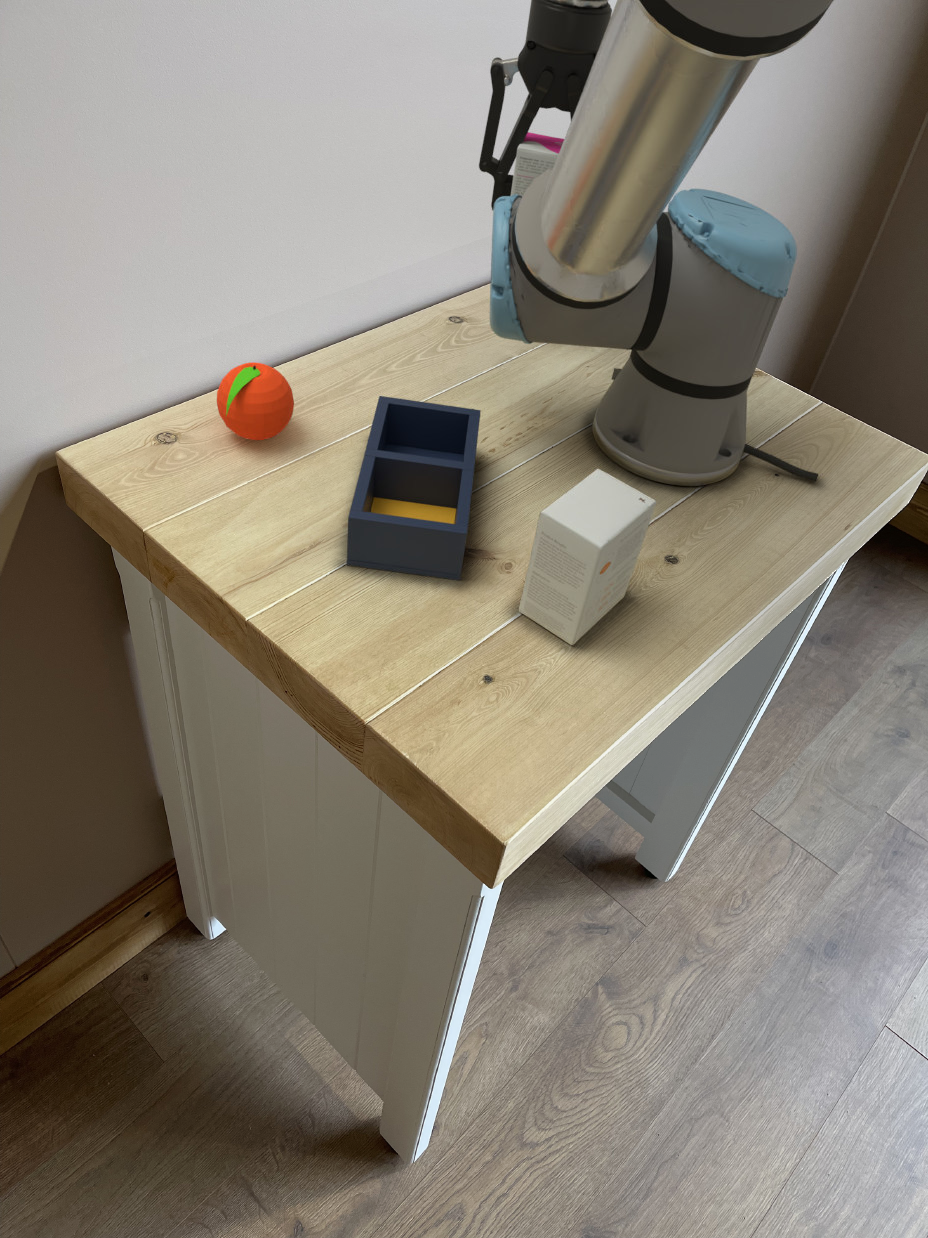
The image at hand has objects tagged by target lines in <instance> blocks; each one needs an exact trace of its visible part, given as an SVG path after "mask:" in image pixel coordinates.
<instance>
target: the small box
mask: <svg viewBox="0 0 928 1238" xmlns="http://www.w3.org/2000/svg"><path fill="white" fill-rule="evenodd" d="M657 504H658V503H657V500H655V499H653V498H652V497H650V496H648V495H647V494H645V493H643V492H641V491H639V490H638V489H637V488H634V487H632V486H630V485H629V484H627V483H626V482H623V481H621V480H620V479H618V478H616V477H615V476H612V475H611V474H609V473H608V472H606V471H603V470H601V469H600V468H596V469H595V470H594V471H592V472H591V473H589V474H588V475H587V476H586V477H584V478H583V479H582V480H580V481H579V482H578V483H576V484H575V485H574V486H572V487H571V488H570V489H569V490H567V491H566V492H565V493H564V494H562V495H561V496H560V497H558V498H557V499H556V500H554V501H553V502H551V503H550V504H549V505H548V506H546V507H545V508H543V510H541V511H539V516H538V520H537V525H536V529H535V530H536V531H535V534H534V539H533V542H532V548H531V552H530V557H529V561H528V566H527V570H526V574H525V579H524V584H523V589H522V591H521V592H522V593H521V597H520V602H519V606H518V612H519V613H521V614H523V615H524V616H526V617H527V618H528V619H530V620H532V621H533V622H535V623H537V624H538V625H540V626H541V627H543V629H546V631H549V632H550V633H552V634H554V636H556V637H558V638H559V639H561V640H562V641H564V642H566V643H567V644H569V645H570V646H574V645H575V644H576V643H578V641H579V640H580V639H581V638H582V637H583V636H584V635H586V634H587V632H588V631H589V630H591V628H593V627H594V626H595V625H596V624H597V623H598V622H599V621H601V619H602V618H603V617H605V615H607V613H609V612H610V611H611V610H612V609H613V608H614V607H615V606H616V605H617V604H618V603H619V602H620V601H621V600H622V599H624V597H625V596H626V593H627V591H628V588H629V584H630V581H631V579H632V576H633V573H634V571H635V567H636V564H637V561H638V558H639V556H640V553H641V549H642V548H643V544H644V540H645V538H646V535H647V533H648V529H649V526H650V523H651V520H652V517H653V514H654V512H655V508H656V505H657Z"/></svg>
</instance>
